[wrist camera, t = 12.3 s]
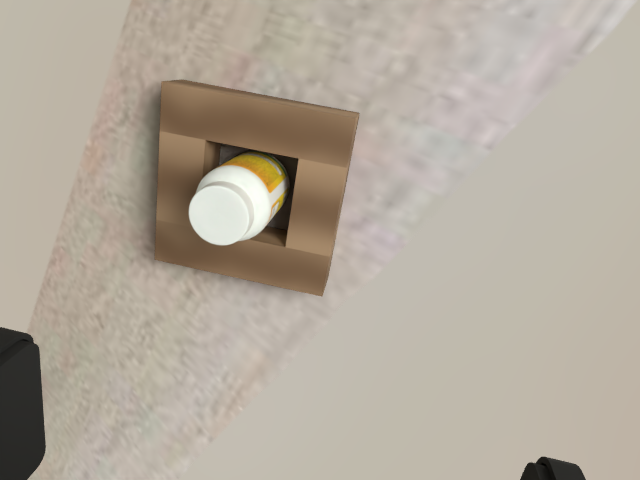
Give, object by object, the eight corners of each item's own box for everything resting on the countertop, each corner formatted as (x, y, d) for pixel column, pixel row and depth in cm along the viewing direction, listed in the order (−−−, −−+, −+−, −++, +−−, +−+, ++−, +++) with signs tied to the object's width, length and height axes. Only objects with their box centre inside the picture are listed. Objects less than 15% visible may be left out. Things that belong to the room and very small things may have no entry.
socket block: (182, 79, 37) (161, 81, 34) (359, 113, 36) (355, 118, 33) (173, 244, 42) (154, 259, 39) (328, 277, 41) (322, 296, 38)
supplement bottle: (295, 211, 40) (265, 254, 31) (233, 215, 41) (187, 259, 32) (285, 145, 38) (251, 172, 29) (221, 151, 39) (169, 179, 30)
